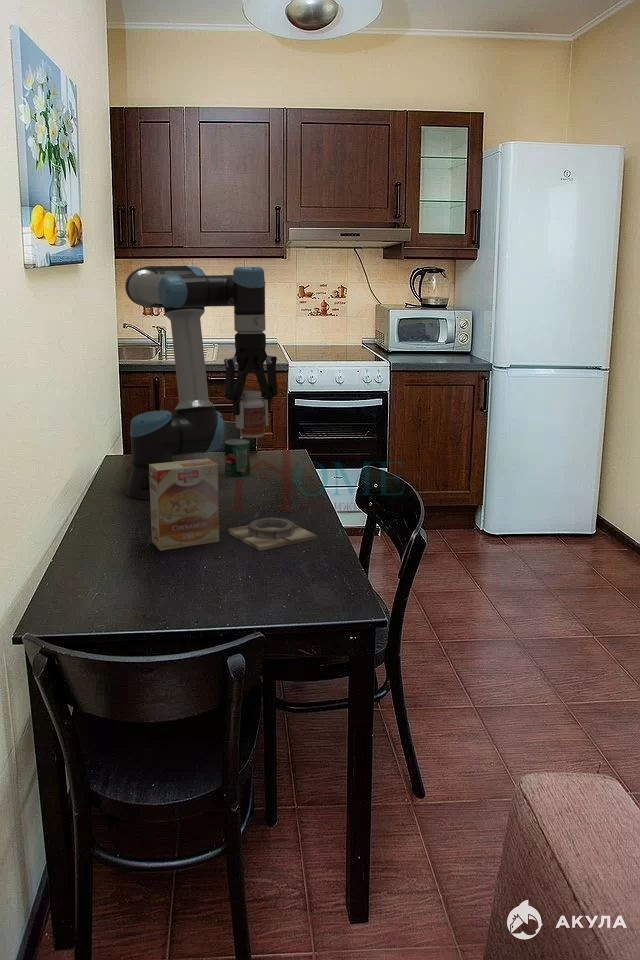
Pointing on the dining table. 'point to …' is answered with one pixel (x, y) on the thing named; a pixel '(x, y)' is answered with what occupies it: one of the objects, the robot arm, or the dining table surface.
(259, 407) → the pill bottle
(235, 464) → the canned tomato
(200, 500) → the coffeecake box
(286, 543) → the socket
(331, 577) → the dining table surface
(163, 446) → the robot arm
